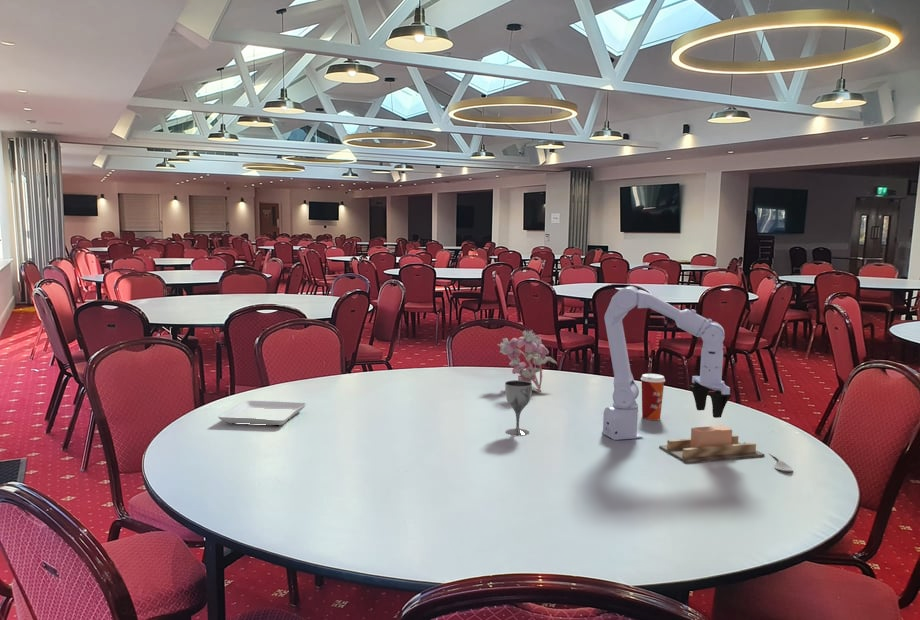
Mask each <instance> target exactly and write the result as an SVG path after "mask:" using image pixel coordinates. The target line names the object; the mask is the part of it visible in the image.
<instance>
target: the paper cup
mask: <svg viewBox="0 0 920 620" xmlns="http://www.w3.org/2000/svg"><path fill="white" fill-rule="evenodd" d="M640 380H641V416H642V419H644V418H646V419H645V420H647V419H651V420H650V421H658V419H659V420H660V419H661V414H662V408H663V407H662V406H663V398H664V397H663V396H664V389H665V388H664V387H665V382H666V379H665V376H664V375H662V374H657V373H644V374H643V373H642V375H641V377H640Z"/></svg>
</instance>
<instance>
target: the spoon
mask: <svg viewBox="0 0 920 620" xmlns="http://www.w3.org/2000/svg"><path fill="white" fill-rule="evenodd" d="M768 454H769V455H770V456H772V457H773V458H774V459H776V460H777V462H776V463H775V465H774V468H775V469H776V470H778V471H780V472H784V473H788V472H793V471H794V469H793V468H792V466H791V465H788V464H787V463H786V462H785V461H784V460H782V459H781V458H780V457H779V455H778V454H777V453H776V452H773V451H769V452H768Z"/></svg>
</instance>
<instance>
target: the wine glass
mask: <svg viewBox="0 0 920 620" xmlns="http://www.w3.org/2000/svg"><path fill="white" fill-rule="evenodd" d="M532 387H533V383H532V381H531V382H528V381H521V380H508V381H505V383H504V391H505V398H506V401H507V404H508V405H509V406H510V407H511V409H512V411H514V414H515V421H516V422H515V423H516V425H515V428H509V429H506V430H505V433H506V434H507V433H508V435H509V434H510V436H514V435H516V436H515V437H522V436H521V435H524V436H527V434H528V435H529V434H530V431H529V430H527V429H525V428H520V417H521V413H522V411H523V410H524V409H525V408H526V406H528V405H529V403H530V400H531V398H532V391H533V390H532ZM519 435H520V436H519Z"/></svg>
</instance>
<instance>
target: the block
mask: <svg viewBox="0 0 920 620" xmlns="http://www.w3.org/2000/svg"><path fill="white" fill-rule="evenodd" d="M690 433H691V434H690V438H691V446H690V448H695V447H707V446H719V445H731V444H732V435H733V429H731V428H729V427H727V426H725V425H713V426H712V425H711V426H710V425H709V426H699V427H691V431H690Z"/></svg>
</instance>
